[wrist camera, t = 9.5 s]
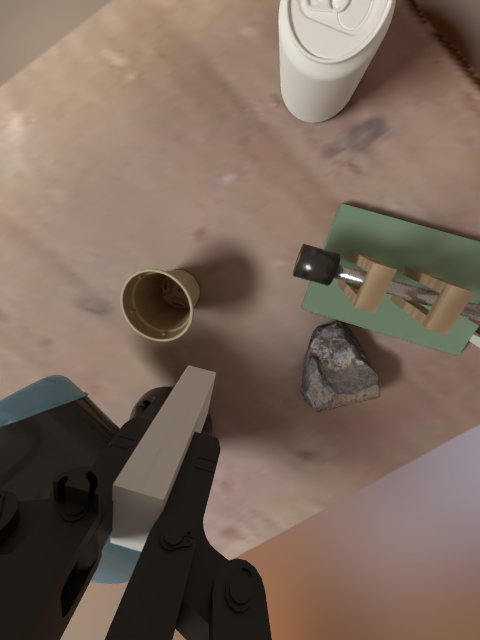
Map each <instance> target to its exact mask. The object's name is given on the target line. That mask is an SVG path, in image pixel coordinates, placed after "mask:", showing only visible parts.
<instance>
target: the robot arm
mask: <svg viewBox="0 0 480 640" xmlns="http://www.w3.org/2000/svg"><path fill="white" fill-rule="evenodd" d="M215 376H216V372H213V371H209V370H205V369H201V368H197V367H194V366H190V365H188V366H187V368H186V369H185V371H184V372H183V374H182V376H181V377H180V379H179V380H178V382H177V384H176V385H175V387H174V388H157V389H153V390H151V391H149V392H147V393H145V394H144V395H143V396H142V397H141V398H140V400H139V401H138V402H137V404H136V405H135V406H134V408H133V410H132V413H131V416H130V419H129V421H128V422H126V423H125V424H124V425H123V426H122V427H121V429H120V428H119V427H118V426H116V425H115V424H114V423H113V422H112V421H111V420H110V419H109V418H108V417H107V416H106V415H105V414H104V413H103V412H102V411H101V410H100V409H99V408H98V407H97V406H96V405H95V404H94V403H93V402H92V401H91V400H90V398H89V397H88V394H87V393H86V392H83V391H82V390H81V389H80V388H78V387H77V386H76V385H75V384H74V383H73V382H72V381H71V380H69V379H68V378H67V377H65V376H61V375H53V376H49V377H46V378H43V379H41V380H39V381H37V382H35V383H33V384H31V385H29V386H27V387H25V388H23V389H21V390H19V391H17V392H15V393H13V394H12V395H10V396H8V397H6V398H4V399H2V400H1V401H0V640H60V639H61V637H62V635H63V633H64V631H65V629H66V627H67V625H68V623H69V621H70V619H71V618H72V616H73V614H74V612H75V610H76V608H77V606H78V604H79V602H80V600H81V598H82V596H83V595H84V592H85V591H86V589H87V587H88V585H89V583H90V581H92V582H97V583H106V584H118V583H125V582H129V583H128V585H127V587H126V590H125V592H124V595H123V597H122V599H121V602H120V604H119V607H118V609H117V611H116V614H115V616H114V619H113V621H112V623H111V626H110V628H109V631H108V633H107V636H106V638H105V640H172V639H173V635H174V631H175V629H176V630H177V631H179V633H180V634H181V635H182V636H183V637H184V638H185V639H186V640H272V638H271V631H270V624H269V616H268V609H267V602H266V594H265V589H264V585H263V582H262V578H261V576H260V575H259V573H258V572H257V570H256V568H255V567H254V566H252V565H251V564H250V563H249V562H247V561H245V560H241V559H233V560H227V559H226V558H225V557H224V556H223V555H221V554H220V553H219V552H218V551H216V550H215V549H214V548H213V547H212V546H211V545H210V543H209V542H208V540H207V538H206V536H205V532H204V529H203V518H204V513H205V509H206V505H207V501H208V497H209V493H210V490H211V486H212V482H213V478H214V474H215V470H216V466H217V462H218V458H219V454H220V445H219V440H218V438H216V437H212V436H210V434H211V431H212V423H211V418H210V416H209V413H208V410H209V405H210V401H211V396H212V391H213V386H214V381H215Z"/></svg>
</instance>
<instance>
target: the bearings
mask: <svg viewBox="0 0 480 640" xmlns="http://www.w3.org/2000/svg"><path fill="white" fill-rule="evenodd" d="M347 259H349V260H350V261H352V262H353V263H355V264H356V265H358V266H359V267H361V268H362V269H364V270H365V271H367V274H366V276H365V278H364V281H363V283H362V285H361V286H358V285H355V284H352V283H348V282H345V281H341V280H338V281H337V285H338V286H339V287H340V289H341V290H342V291H343V293H344V294H345V295H346V296H347V298H348V299H349V300H350V302H351V303H352V304H353V305H354V307H356V308H359V309H362V310H366V311H369V312H372V313H376V311H377V309H378V307H379V305H380V303H381V301H382V299H383V297H384V295H385V293H386V291H387V289H388V287H389V285H390V283H391V281H392V279H393V277H394V275H395V273H396V271H397V269H395V268H393V267H390V266H388V265H386V264H384V263H382V262H380V261H378V260H376V259H373V258H371V257H369V256H367V255H364V254H361V253H357V252H354V251H350V252H349V255H348V257H347ZM401 274H402V275H404V276H406V277H408V278H411V279H413V280H415V281H417V282H419V283H421V284H423V285H425V286H427V287H429V288H431V289H433V290H435V291H437V292H439V293H440V294H439V296H438V297H437V299H436V301H435V302H434V304H433V306H432V307H431V309H430V310H428V309H426V308H425V307H423V306H422V305H420V304H419V303H416V302H413V301H409V300H406V299H403V298H399V297H396V296H392V295H390V296H389V298H388V299H389V300H391V301H392V302H393V303H394V304H396V305H397V306H398V307H400V308H401V309H402V310H403V311H405V312H406V313H407V314H408V315H410V316H411V317H412V318H413V319H415V320H416V321H417V322H419V323H420V324H421V325H422V326H424V327H425V328H426V329H429V330H433V331H436V332H439V333H443V334H446V335H447V334H448V332H449V331H450V329H451V328H452V326H453V325H454V323H455V321H456V320H457V318H458V317H459V315H460V314H461V312H462V311H463V309H464V308H465V306H466V305H467V303H468V302H469V300H470V299H471V297H472V295H473V294H474V292H473V291H471V290H468V289H466V288H463V287H461V286H458V285H456V284H453V283H451V282H448V281H445V280H443V279H440V278H438V277H435V276H433V275H430V274H428V273H425V272H423V271H420V270H416V269H413V268H410V267H406V266H405V267H404V269H403V271H402V273H401Z"/></svg>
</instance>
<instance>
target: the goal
mask: <svg viewBox="0 0 480 640" xmlns="http://www.w3.org/2000/svg"><path fill="white" fill-rule="evenodd" d="M469 341H470V342H472V343H473V344H475V345H476V346H478V347H479V348H480V334H479V333H476V332H475V333H474V334H473V336H472V337H471V339H470V340H469Z"/></svg>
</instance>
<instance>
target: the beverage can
mask: <svg viewBox="0 0 480 640" xmlns="http://www.w3.org/2000/svg"><path fill="white" fill-rule="evenodd" d="M395 3H396V0H281V1H280V8H279V48H280V79H281V92H282V96H283V100H284V102H285V104H286V106H287V108H288V109H289V111H290V112H291V113H292V114H293V115H294V116H295V117H297V118H298V119H300V120H302V121H305V122H310V123H317V122H322V121H325V120H328V119H330V118H332V117H333V116H335V115H336V114H337V113H339V112H340V111H341V110H342V109H343V108H344V107H345V105H346V104H347V103H348V101H349V100H350V98H351V96H352V95H353V93H354V91H355V89H356V87H357V86H358V84H359V82H360V80H361V78H362V77H363V75H364V73H365V71H366V69H367V68H368V66H369V64H370V62H371V60H372V58H373V57H374V55H375V53H376V51H377V49H378V48H379V46H380V44H381V42H382V40H383V39H384V37H385V35H386V32H387V30H388V28H389V25H390V23H391V20H392V16H393V13H394V9H395Z"/></svg>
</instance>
